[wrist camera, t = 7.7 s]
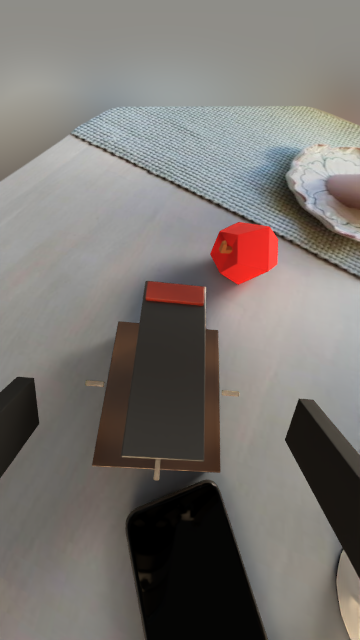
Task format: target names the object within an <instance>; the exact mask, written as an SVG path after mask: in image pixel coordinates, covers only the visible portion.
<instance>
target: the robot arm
mask: <svg viewBox="0 0 360 640" xmlns="http://www.w3.org/2000/svg"><path fill="white" fill-rule="evenodd" d="M38 425H39V417H38V408H37V400H36V391H35V383H34V378H25V377H17V378H16V379H14V380H13V381H12V382H11V383H10V384H9V385H8V386H7V387H6V388H5V389H3V390H2V391H1V392H0V478H1V476H2V475H3V474H4V472H5V471H6V469H7V468H8V467H9V465H10V464H11V462H12V461H13V460H14V458H15V457H16V455H17V454H18V453H19V451H20V450H21V448H22V447H23V446H24V444H25V443H26V441H27V440H28V439H29V437H30V436H31V434H32V433H33V432H34V430H35V429H36V427H37V426H38ZM285 441H286V443H287V445H288V447H289V449H290V450H291V452H292V454H293V456H294V458H295V460H296V462H297V463H298V465H299V467H300V469H301V471H302V473H303V475H304V476H305V478H306V480H307V482H308V484H309V486H310V488H311V489H312V491H313V493H314V495H315V497H316V499H317V501H318V503H319V504H320V506H321V508H322V510H323V512H324V514H325V516H326V517H327V519H328V521H329V523H330V525H331V527H332V529H333V530H334V532H335V534H336V536H337V538H338V540H339V542H340V543H341V545H342V547H343V549H344V551H345V553H346V555H347V557H348V558H349V560H350V562H351V564H352V566H353V568H354V570H355V571H356V573H357V575H358V577H359V579H360V455H359V454H358V452H357V451H356V450H355V449H354V448H353V447H352V445H351V444H350V443H349V442H348V441H347V439H346V438H345V437H344V436H343V435H342V433H341V432H340V431H339V430H338V429H337V427H336V426H335V425H334V424H333V423H332V422H331V420H330V419H329V418H328V417H327V416H326V414H325V413H324V412H323V411H322V410H321V408H320V407H319V406H318V405H317V404H316V402H315V401H314V400H309V399H299V400H298V403H297V406H296V409H295V412H294V415H293V418H292V421H291V424H290V427H289V430H288V432H287V435H286V438H285Z"/></svg>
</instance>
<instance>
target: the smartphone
mask: <svg viewBox="0 0 360 640" xmlns="http://www.w3.org/2000/svg"><path fill="white" fill-rule="evenodd" d="M126 536H127V542H128V547H129V553H130V558H131V564H132V569H133V575H134V581H135V586H136V592H137V597H138V603H139V608H140V614H141V619H142V625H143V630H144V636H145V640H268V638H267V635H266V632H265V629H264V626H263V622H262V619H261V616H260V613H259V610H258V607H257V604H256V601H255V598H254V595H253V591H252V588H251V585H250V582H249V579H248V576H247V573H246V570H245V567H244V564H243V561H242V557H241V554H240V551H239V548H238V545H237V542H236V539H235V536H234V533H233V530H232V526H231V523H230V520H229V517H228V514H227V511H226V508H225V505H224V502H223V499H222V496H221V493H220V490H219V488H218V486H217V485H216V484H215V483H214V482H213V481H211V480H203V481H200V482H198V483H195V484H193V485H190V486H188V487H186V488H183V489H181V490H178V491H176V492H174V493H171V494H169V495H166V496H164V497H161V498H159V499H157V500H154V501H152V502H149V503H147V504H145V505H142V506H140V507H138V508H136V509H134V510H133V511H132V512H131V513H130V514H129V516H128V518H127V520H126Z"/></svg>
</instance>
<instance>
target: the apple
mask: <svg viewBox="0 0 360 640" xmlns="http://www.w3.org/2000/svg"><path fill="white" fill-rule="evenodd" d="M210 255H211V257H212V259H213V261H214V262H215V264H216V266H217V268H218V270H219V272H220V273H221V274H222V275H224V276H225V277H227V278H228V279H230V280H232V281H233V282H235V283H236V284H238V285H239V284H241V283H243V282H245V281H248V280H250V279H252V278H254V277H257V276H259V275H261V274H263V273H265V272H268V271H269V270H270V269H272V268H273V267H274V266H276V265H277V255H278V239H277V237H276V236H275V234H274V233H273V231H272V230H271V228H270V227H269V226H262V225H255V224H248V223H242V222H238V223H236V224H234V225H232V226H229V227H227V228H225V229H223V230H221V231H220V232H219V234H218V237H217V239H216V241H215V244H214V246H213V249H212V251H211V254H210Z"/></svg>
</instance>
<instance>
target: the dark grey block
mask: <svg viewBox="0 0 360 640" xmlns="http://www.w3.org/2000/svg"><path fill="white" fill-rule="evenodd" d="M205 340H206V287H203V286H193V285H183V284H174V283H164V282H154V281H146V282H145V289H144V296H143V303H142V310H141V317H140V324H139V331H138V338H137V345H136V352H135V359H134V366H133V373H132V380H131V387H130V394H129V401H128V409H127V416H126V423H125V430H124V437H123V444H122V451H121V457H128V458H146V459H165V460H183V461H202V462H203V461H204V435H205Z"/></svg>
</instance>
